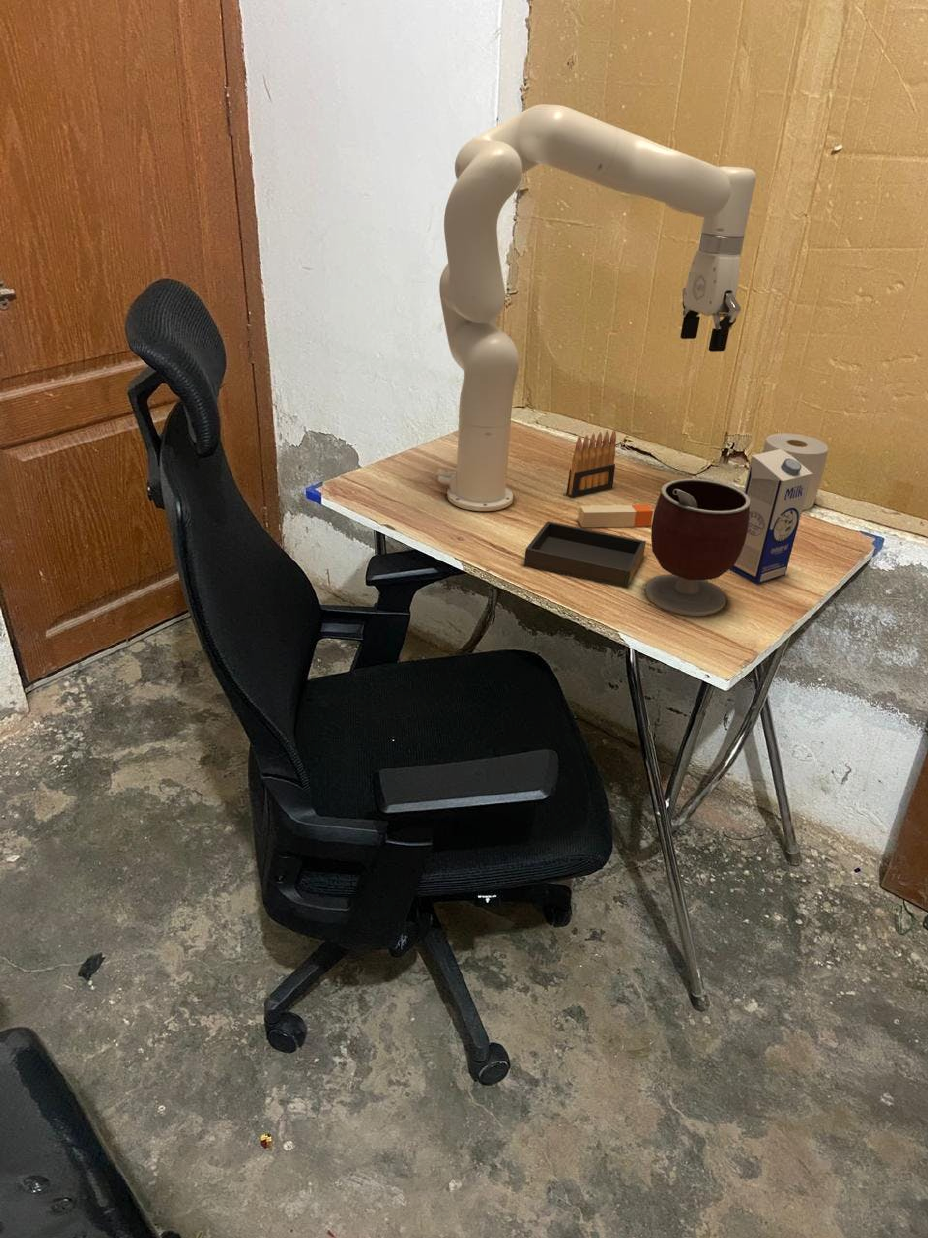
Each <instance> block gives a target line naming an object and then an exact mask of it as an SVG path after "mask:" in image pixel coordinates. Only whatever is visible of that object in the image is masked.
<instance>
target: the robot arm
mask: <svg viewBox="0 0 928 1238" xmlns="http://www.w3.org/2000/svg"><path fill="white" fill-rule="evenodd" d="M540 164H543V165H546V166H549V167H552V168H553V169H557V170H560V171H562V172H564V173H568V174H570V175H573V176H575V177H578V178H581V179H583V180H586V181H589V182H592V183H595V184H597V185H599V186H601V187H604V188H607V189H610V190H614V191H617V192H620V193H624V194H627V195H634V196H640V197H644V198H648V199H651V200H654V201H657V202H661V203H663V204H665V205H666V206H667V207H668V208H669V209H671V210H673V211H675V212H678V213H682V214H688V215H692V216H696V217H698V218H703V219H702V224H701V229H700V234H699V241H698V246H697V250H696V251H695V254H694V256H693V259H692V262H691V265H690V269H689V273H688V277H687V280H686V286H685V287H684V288H682V308H683V310H682V316H683V319H682V324H681V330H680V339H682V340H692V339H693V340H694V339H697V336H698V330H699V324H700V319H701V317H700V316H699V314H701V315H703V316H707V317H711V316H712V319H713V324H714V328H711V334H710V339H709V345H708V351H709V352H711V353H713V352H725V350H726V347H727V342H728V337H729V332H730V330H731V329H732V328H733V325H734V324H735V323H736V321H737V317H739V314H740V312H741V309H742V308H741V306H740V303H739V302H738V301H737V294H738V286H739V278H740V269H741V256H742V252H743V245H744V242H745V236H746V232H747V231H746V230H747V226H748V221H749V215H750V212H751V206H752V201H753V197H754V190H755V187H756V179H757V177H756V172H755V171H754V170H753V169H752V168H749V167H741V166H740V167H739V166H716V165H714V164H711V163H709V162H707V161H704V160H702V159H699V158H697V157H695V156H692V155H689V154H686V153H684V152H681V151H678V150H675V149H673V148H671V147H670V148H669V147H668V146H665V145H663V144H660V143H657V142H655V141H653V140H651V139H648V138H646V137H643V136H641V135H638V134H636V133H633V132H630V131H628V130H626V129H622V128H620V127H618V126H616V125H612V124H610V123H608V122H605V121H602V120H600V119H598V118H595V117H593V116H590V115H588V114H585V113H583V112H580V111H579V110H575V109H573V108H570V107H568V106H565V105H560V104H547V103H546V104H544V103H543V104H541V103H540V104H536V105H533V106H531V107H529V108H526V109H525V110H523V111H521V112H519V113H517V114H515V115H514V116H512V117H511V118H508V119H506V120H505V121H503V122H502V123H500V124H498V125H496V126H494V127H492V128H490V129H488V130H487V131H484V132H483V133H481V134H479V135H477V136H475V137H473V138H471V139H470V140H469V141H468V142H466V143H465V144H464V145H463V146H462V147H461V148H460V150H459V151H458V153H457V156H456V157H455V162H454V173H455V178H456V181H455V183H454V185H453V187H452V189H451V192H450V194H449V196H448V199H447V202H446V205H445V209H444V217H443V232H444V233H443V234H444V242H445V249H446V259H447V264H446V265H445V266H444V268H443V270H442V272H441V274H440V277H439V286H438V287H439V289H438V290H439V300H440V305H441V311H442V317H443V322H444V328H445V332H446V333H445V334H446V339H447V343H448V347H449V350H450V354H451V356H452V358H453V360H454V361H455V363H456V364H457V365H458V366H459V367H460V368H461V369H462V370H463V383H462V386H461V391H460V396H459V397H460V398H459V405H458V407H459V408H458V411H459V412H458V433H457V454H456V470H453V471H450V470H446V469H441V468H439V469H438V470H437V472H436V479H437V483H438V484H441V485H448V486H449V488H448V489H447V493H446V497H447V498H446V499H447V500H448V501H449V502H450V503H451V504H452V505H453V506H456V507H458V508H461V509H464V510H468V511H475V512H495V511H499V510H504V509H506V508H507V507H509V506H511V504H512V503H513V502H514V494H513V492H512V490H510V488H508V487H507V476H508V465H509V452H510V441H511V440H510V438H511V425H512V414H513V413H512V412H513V403H514V393H515V390H516V386H517V385H516V384H517V381H518V375H519V370H520V356H519V351H518V348H517V346H516V344H515V342H514V341H513V339H512V338H511V337H510V335H508V334H507V333H505V332H504V331H503V330H502V329H500V328H499V327H498V324H497V319H496V318H497V317H499V316H500V314H501V313H502V311H503V308H504V306H505V302H506V290H505V283H504V277H503V272H502V265H501V258H500V252H499V244H498V243H499V242H498V219H499V215H500V213H501V211H502V209H503V207H504V205H505V204H506V203H507V201H508V200H509V199H510V198H511V197H512V196H513V195H514V193H516V191H517V190H518V188H519V186H520V183H521V181H522V176H523V174H525V173H527V172H528V171H530V170H531V169H533V168H534V167H536V166H538V165H540Z"/></svg>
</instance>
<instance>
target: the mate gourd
mask: <svg viewBox="0 0 928 1238" xmlns="http://www.w3.org/2000/svg"><path fill="white" fill-rule="evenodd" d="M749 505H750V498H749V497H748V496H747V494H745V493H744V490H741V489H739V488H737V487H735V486H733V485H730V484H727V483H723V482H721V481H716V480H709V479H704V478H703V479H702V478H680V479H674V480H670V481H669V482H666V483H665V484H664V485H662V487H661V491H660V494H659V496H658V498H657V502H656V505H655V508H654V510H653V516H652V521H651V526H650V527H651V529H650V530H651V533H650V534H651V535H650V536H651V537H650V540H651V549H652V553H653V555H654V556H655V558H656V560H657V562H658V563H659V565H660V567H661V568H662V569H663V570H665V572H667V573H669V574H662V575H659V576H655V577H653V578H652V579H650V580H649V581H648V582H647V584H646V588H645V595H646V597H647V598H648V600H649V601H650V602H651V603H653V604H654V605H655V606H657V607H659V608H660V609H662V610H665V611H667V612H670V613H673V614H678V615H682V616H691V617H704V616H711V615H714V614H716V613H718V612H721V611H722V610H723V608H724V607H725V605H726V600H727V598H726V594H725V593H724V591H723V590H722V589H721V588H720V587H719V586H717V585H715V584H714V583H712V582H710V580H715V579H717V578H720V577H721V576H723V575H724V574H725V573H727V572H728V571H729V570H730V568H731V567H733V566H734V564H735V563H736V561H737V559H738V557H739V556H740V553H741V551H742V548H743V546H744V544H745V540H746V536H747V531H748V526H749V514H750V506H749Z"/></svg>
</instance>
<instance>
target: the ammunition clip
mask: <svg viewBox="0 0 928 1238" xmlns="http://www.w3.org/2000/svg"><path fill="white" fill-rule="evenodd" d="M616 442H617V432H616V429H613V430H612V431H611V434H610V433H609V431H608V430H607V431H606V432H605V434H604V436H603V434H602V432H601V431H600V432H599V433H598V435H597V438H596V435H595V433H592V435H591V436H590V440H589V436H588V434H586V435H585V436H584V438H583V440H582V437H581V435H580V436H578V437H577V440H576V444H575V447H574V454H573V457H572V461H571V462H572V463H571V469H570V470H569V473H568V480H567V487H566V496H568V497H570V498H572V499H574V498H579V497H582V496H586V495H590V494H594V493H599V492H603V491H607V490H611V489H613V487H614V478H615V477H614V476H615V468H616V464H614V463H615V458H616V457H615V456H616Z"/></svg>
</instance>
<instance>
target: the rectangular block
mask: <svg viewBox="0 0 928 1238" xmlns="http://www.w3.org/2000/svg"><path fill="white" fill-rule="evenodd" d="M653 515H654V510H653V508H651V506H650V505H649V504H648V503H647V504H646V503H645V504H637V503H635V504H621V505H620V504H618V505H617V504H615V505H611V504H610V505H607V504H606V505H579V508H578V517H577V522H578V523H579V525H580V526H581V528H583V529H585V528H632V527H635V528H638V527H639V528H640V527H641V528H642V527H643V528H645V527H651V526H652V521H653Z"/></svg>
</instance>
